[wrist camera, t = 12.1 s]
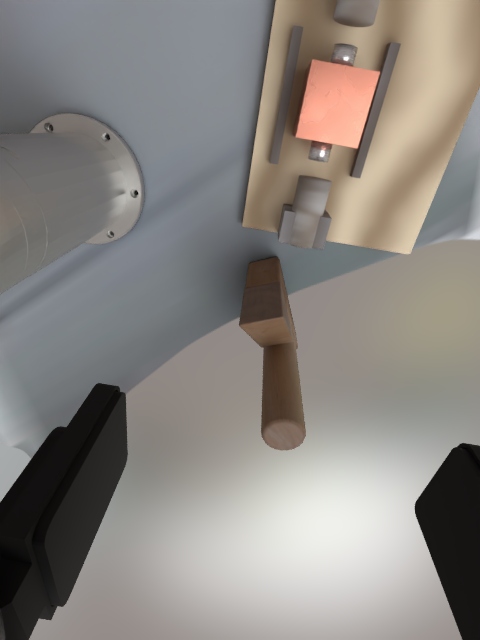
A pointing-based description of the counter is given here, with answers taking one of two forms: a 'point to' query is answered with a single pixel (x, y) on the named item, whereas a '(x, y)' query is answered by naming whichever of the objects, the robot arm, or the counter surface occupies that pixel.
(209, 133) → the counter surface
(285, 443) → the brown long handled part
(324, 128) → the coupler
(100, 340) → the counter surface
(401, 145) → the jig
